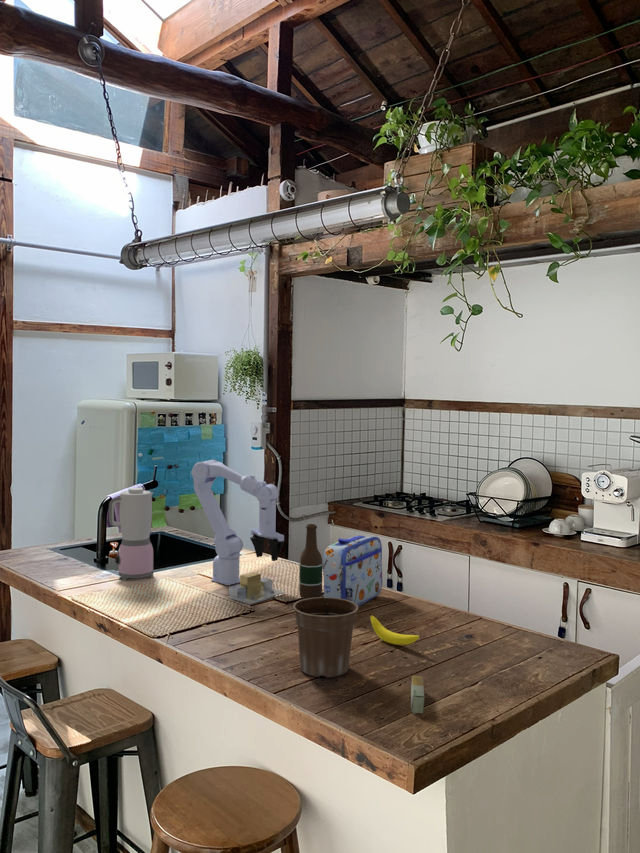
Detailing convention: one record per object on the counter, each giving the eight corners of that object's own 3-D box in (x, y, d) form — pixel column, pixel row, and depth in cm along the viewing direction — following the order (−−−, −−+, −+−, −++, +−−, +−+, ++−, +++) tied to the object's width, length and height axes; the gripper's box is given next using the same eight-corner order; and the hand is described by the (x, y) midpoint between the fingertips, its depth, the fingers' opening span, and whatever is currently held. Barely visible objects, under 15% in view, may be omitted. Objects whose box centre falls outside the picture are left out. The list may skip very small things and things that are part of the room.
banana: (415, 655, 197) (416, 632, 196) (365, 636, 211) (365, 614, 211) (423, 653, 199) (423, 629, 198) (372, 633, 213) (373, 612, 213)
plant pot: (320, 651, 198) (321, 592, 197) (369, 667, 188) (371, 604, 187) (279, 669, 186) (279, 606, 185) (329, 687, 176) (330, 620, 175)
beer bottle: (319, 600, 244) (320, 527, 243) (296, 598, 246) (297, 526, 244) (324, 593, 252) (325, 523, 250) (301, 591, 254) (302, 521, 252)
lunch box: (346, 617, 227) (347, 546, 226) (317, 611, 233) (318, 541, 231) (385, 595, 251) (387, 530, 249) (358, 590, 256) (359, 527, 255)
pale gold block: (228, 589, 252) (228, 572, 252) (241, 586, 256) (241, 568, 256) (247, 595, 246) (247, 577, 245) (260, 591, 250) (260, 574, 250)
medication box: (423, 715, 163) (424, 697, 162) (411, 714, 163) (412, 696, 163) (422, 692, 175) (423, 675, 174) (410, 691, 175) (411, 674, 175)
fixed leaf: (229, 598, 245) (229, 586, 245) (264, 588, 257) (264, 577, 256) (249, 604, 238) (249, 593, 238) (285, 594, 250) (285, 583, 250)
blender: (150, 570, 277) (149, 485, 275) (157, 579, 266) (157, 490, 264) (106, 575, 271) (105, 487, 268) (112, 583, 260) (111, 492, 257)
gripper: (244, 518, 259) (244, 556, 260) (273, 524, 249) (273, 564, 250) (259, 515, 264) (259, 553, 265) (288, 521, 255) (288, 560, 256)
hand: (266, 558), depth 258 cm, fingers open, 7 cm apart
